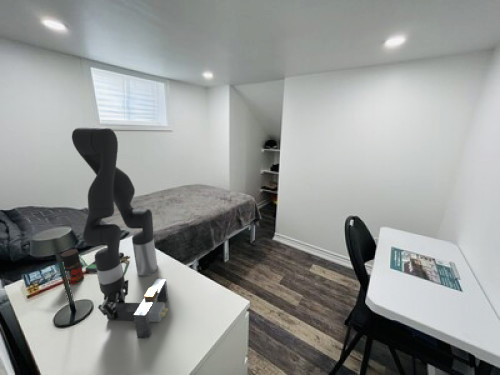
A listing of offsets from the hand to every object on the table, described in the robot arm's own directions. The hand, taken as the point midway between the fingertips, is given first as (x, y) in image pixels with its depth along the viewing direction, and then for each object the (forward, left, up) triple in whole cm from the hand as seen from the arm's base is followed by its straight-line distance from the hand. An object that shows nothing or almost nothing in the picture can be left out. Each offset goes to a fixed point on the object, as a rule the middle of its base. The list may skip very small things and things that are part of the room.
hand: (118, 313), depth 78 cm
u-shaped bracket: (0, +14, -1) cm, 14 cm away
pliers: (-29, -16, -2) cm, 33 cm away
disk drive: (-32, -27, -2) cm, 42 cm away
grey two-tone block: (0, +7, -1) cm, 7 cm away
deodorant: (-19, -32, -1) cm, 38 cm away
